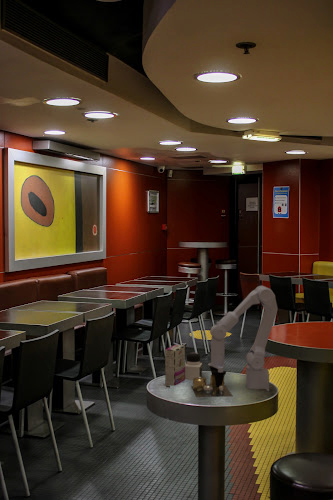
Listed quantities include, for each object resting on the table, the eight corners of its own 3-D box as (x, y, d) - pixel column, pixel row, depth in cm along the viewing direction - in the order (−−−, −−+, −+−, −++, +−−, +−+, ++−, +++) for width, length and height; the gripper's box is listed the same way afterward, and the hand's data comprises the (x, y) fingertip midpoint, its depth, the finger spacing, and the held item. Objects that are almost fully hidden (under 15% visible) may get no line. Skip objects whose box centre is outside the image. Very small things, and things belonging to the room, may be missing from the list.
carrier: (225, 387, 253) (225, 373, 252) (233, 398, 237) (233, 383, 236) (190, 388, 251) (190, 374, 251) (196, 399, 235) (196, 384, 235)
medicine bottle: (199, 382, 261) (200, 355, 261) (184, 381, 263) (184, 354, 262) (202, 378, 268) (202, 352, 268) (186, 377, 270) (186, 351, 269)
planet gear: (222, 385, 253) (222, 373, 253) (225, 389, 247) (225, 377, 247) (209, 385, 252) (209, 374, 252) (211, 389, 247) (211, 377, 246)
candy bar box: (175, 380, 264) (175, 344, 263) (185, 382, 262) (185, 345, 261) (164, 386, 254) (164, 348, 253) (174, 388, 251) (175, 350, 251)
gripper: (205, 349, 256) (205, 380, 257) (211, 357, 242) (210, 390, 242) (221, 349, 257) (221, 380, 257) (228, 357, 242) (227, 389, 243)
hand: (217, 385), depth 250 cm, fingers closed on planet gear, 6 cm apart
